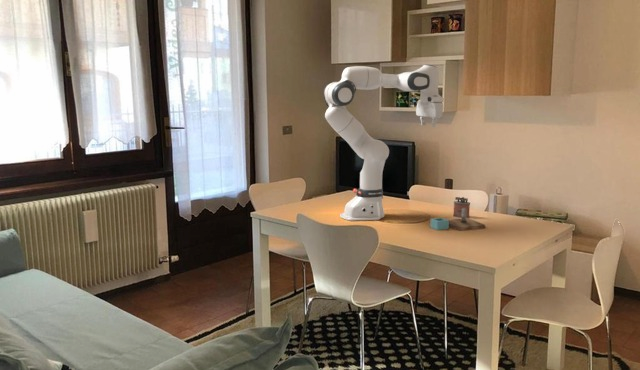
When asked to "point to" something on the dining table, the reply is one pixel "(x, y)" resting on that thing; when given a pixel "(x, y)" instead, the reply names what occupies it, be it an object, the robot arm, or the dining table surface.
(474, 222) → the post base
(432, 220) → the collar
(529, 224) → the dining table surface
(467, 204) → the lighter
